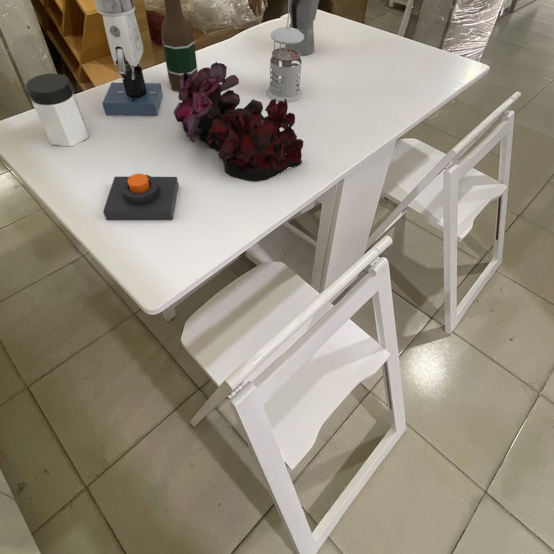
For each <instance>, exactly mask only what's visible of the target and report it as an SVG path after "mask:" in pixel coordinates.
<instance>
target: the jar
mask: <svg viewBox="0 0 554 554" xmlns="http://www.w3.org/2000/svg"><path fill="white" fill-rule="evenodd" d="M25 89H26V92H27V94H28V96H29V98H30V100H31V101H32V106H33V109H34V110H35V112H36V115H37V117H38V119H39V122H40V123H41V125H42V128H43V130H44V132H45V134H46V136H47V138H48V140H49V142H50V145H52V146H61V147H74V146H76V145H78V144H80V143H81V142H84V141H86V140H87V139H89V138H90V136H89V132H88V128H87V125H86V123H85V119H84V117H83V114H82V112H81V108H80V105H79V104H78V101H77V98H76V95H75V93H74V90H73V87H72V84H71V81H70V79H69V78H68V77H67V76H66V75H64V74H61V73H43V74H39V75H37V76H34V77H32V78H30V79H28V80H27V82H26V83H25Z"/></svg>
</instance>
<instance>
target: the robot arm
mask: <svg viewBox="0 0 554 554" xmlns="http://www.w3.org/2000/svg"><path fill="white" fill-rule="evenodd" d="M94 4H95V7H96V10H97V13H98V14H100V15H102V20H103V25H104V31H105V34H106V39H107V44H108V48H109V51H110V56H111V59H112V61H113V64H114V65H115V66H116V67H117V68H118V74H119V75H120V76H121V80H122V83H123V84H124V87H125V91H126V95H127V96H140V95H141V93H140V89H139V85H138V80H137V78H135V73H134V67H135V68H138V69H141V70H142V71H143V69H142V68H143V67H142V66H141V59H142V56H143V54H144V45H143V39H142V36H141V32H140V29H139V23H138V20H137V16H136V14H135V11H136V6H135V5H136V4H135V0H94ZM133 66H134V67H133ZM127 68H130V71H131V73H130V71H128V70H127ZM144 82H145V80H144ZM145 83H146V82H145Z"/></svg>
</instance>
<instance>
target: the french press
mask: <svg viewBox="0 0 554 554" xmlns="http://www.w3.org/2000/svg"><path fill="white" fill-rule="evenodd" d="M289 3H290V0H288V4H287V22H286V23H287V24H286V26H281V27H278V28H275V30H272V31H271V32H270V34H269V37H270V39H271V40H272V41H273V50H272V52H271V57H270V60H269V86H268V87H267V89H266V90H265V95H266V96H267V97H268V98H269V99H270V100H274V99H276V102H279V101H284V99H286V100H287V103H292V102H296V101H299V100H300V99H301V98H302V97H303V96H304V93H303V90H302V89H301V87H300V86H301V75H302V62H303V61H302V59H301V54H300V52H299V51H297V50H295V49H291V48H287V45H293V44H298V43H300V42H302V41H303V39H304V34H302V33H301V32H300V31H299V30H297V29H295V28H291V27H289V21H290V19H289V18H290V7H289ZM276 43H278V44H279V47H277V48H276ZM282 45H285V47H282ZM295 61H296V62H298V63H296V62H295ZM280 62H281V66H280ZM279 77H280V78H279Z"/></svg>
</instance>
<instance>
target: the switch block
mask: <svg viewBox="0 0 554 554" xmlns="http://www.w3.org/2000/svg"><path fill="white" fill-rule="evenodd" d="M145 175H146V176H147V177H148V181H149V184H150V188H149V189H148V190H147V191H145V192H142V193H133V192H132V191H131V190H130V188H129V185H128V178H129V177H130V176H113V177H114V178H113V181H112V183H111V186H110V190H109V193H108V196H107V199H106V202H105V205H104V207H103V210H102V213H103V215H104V217H105V219H106V221H173V220H174V214H175V209H176V202H177V199H178V191H179V181H178V180H179V179H178V176H151V175H149V174H145Z"/></svg>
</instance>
